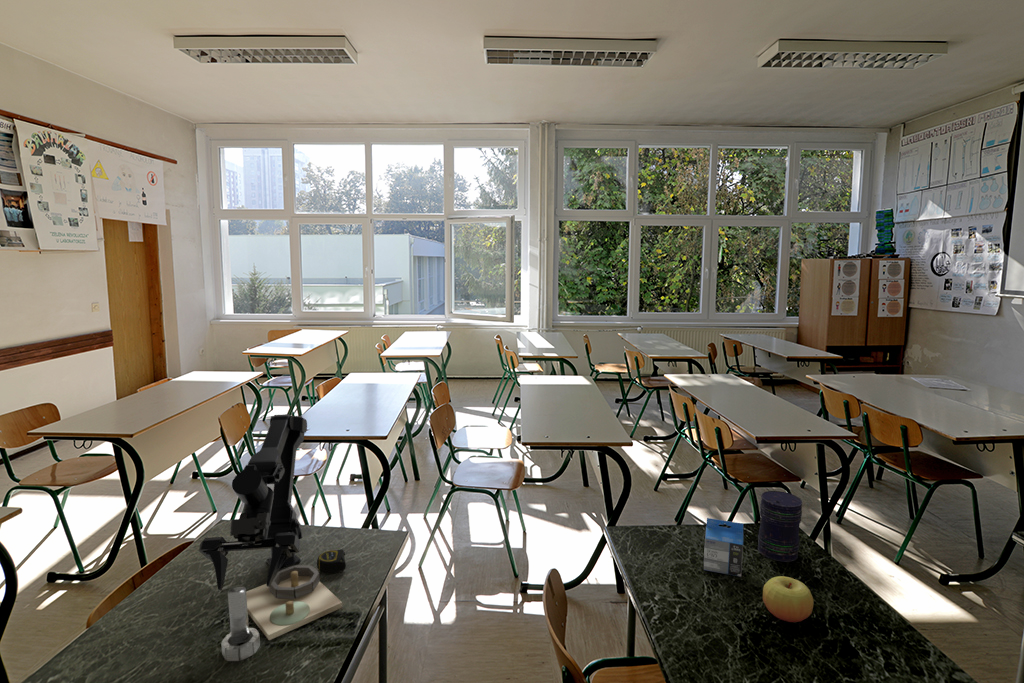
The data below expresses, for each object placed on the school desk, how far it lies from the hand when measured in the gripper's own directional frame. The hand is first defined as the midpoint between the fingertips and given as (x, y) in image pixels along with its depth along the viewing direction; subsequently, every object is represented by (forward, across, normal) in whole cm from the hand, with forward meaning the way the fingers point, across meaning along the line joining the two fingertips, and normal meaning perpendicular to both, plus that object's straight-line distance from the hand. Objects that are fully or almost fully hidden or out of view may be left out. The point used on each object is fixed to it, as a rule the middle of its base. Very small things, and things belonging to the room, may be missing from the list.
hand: (243, 588), depth 114 cm
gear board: (0, +6, +15) cm, 16 cm away
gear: (+10, 0, +5) cm, 11 cm away
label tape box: (+1, +109, +14) cm, 110 cm away
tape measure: (-10, +14, +25) cm, 30 cm away
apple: (+14, +114, +1) cm, 115 cm away
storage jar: (-3, +128, +18) cm, 130 cm away
